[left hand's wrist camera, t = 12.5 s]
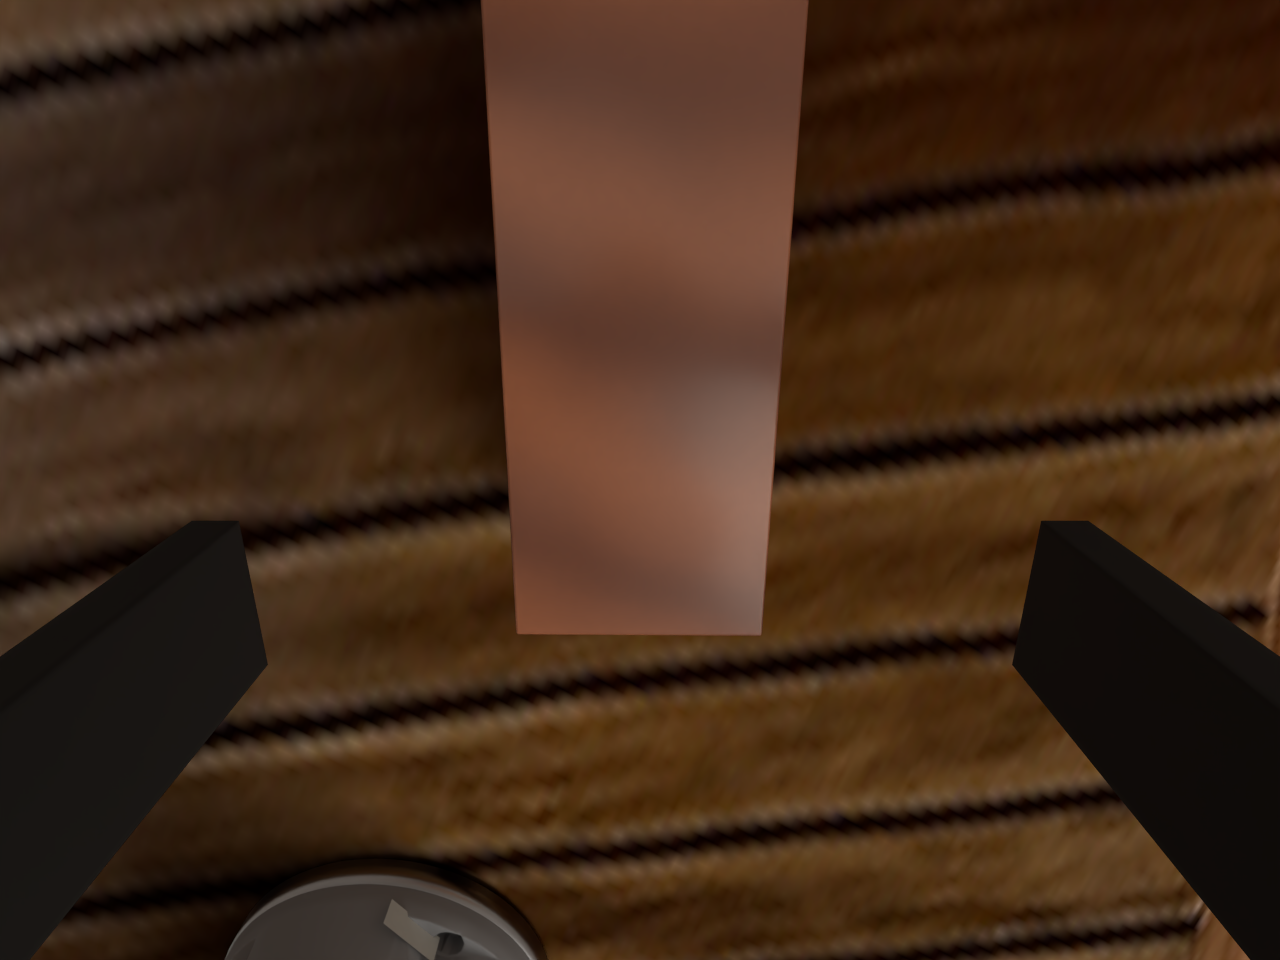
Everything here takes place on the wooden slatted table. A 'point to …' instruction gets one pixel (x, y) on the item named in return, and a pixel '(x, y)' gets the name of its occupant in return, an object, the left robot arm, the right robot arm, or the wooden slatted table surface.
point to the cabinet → (642, 302)
